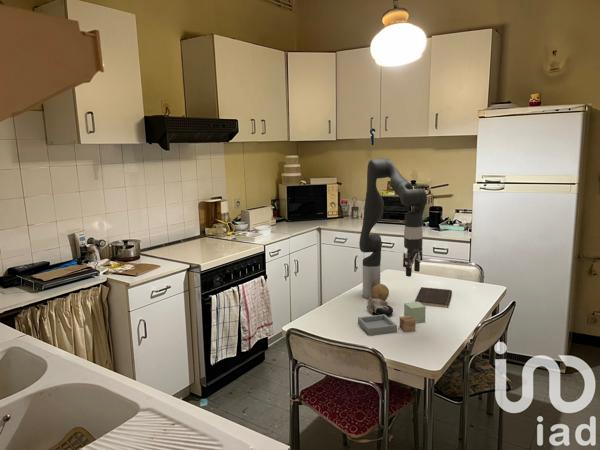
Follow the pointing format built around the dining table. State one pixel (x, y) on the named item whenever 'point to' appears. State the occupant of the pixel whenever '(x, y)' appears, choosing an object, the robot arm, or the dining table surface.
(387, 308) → the caster wheel
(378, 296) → the natural sponge
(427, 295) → the hardcover book
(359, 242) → the robot arm
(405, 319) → the walnut block
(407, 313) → the sage block
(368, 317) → the grey tray
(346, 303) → the dining table surface
